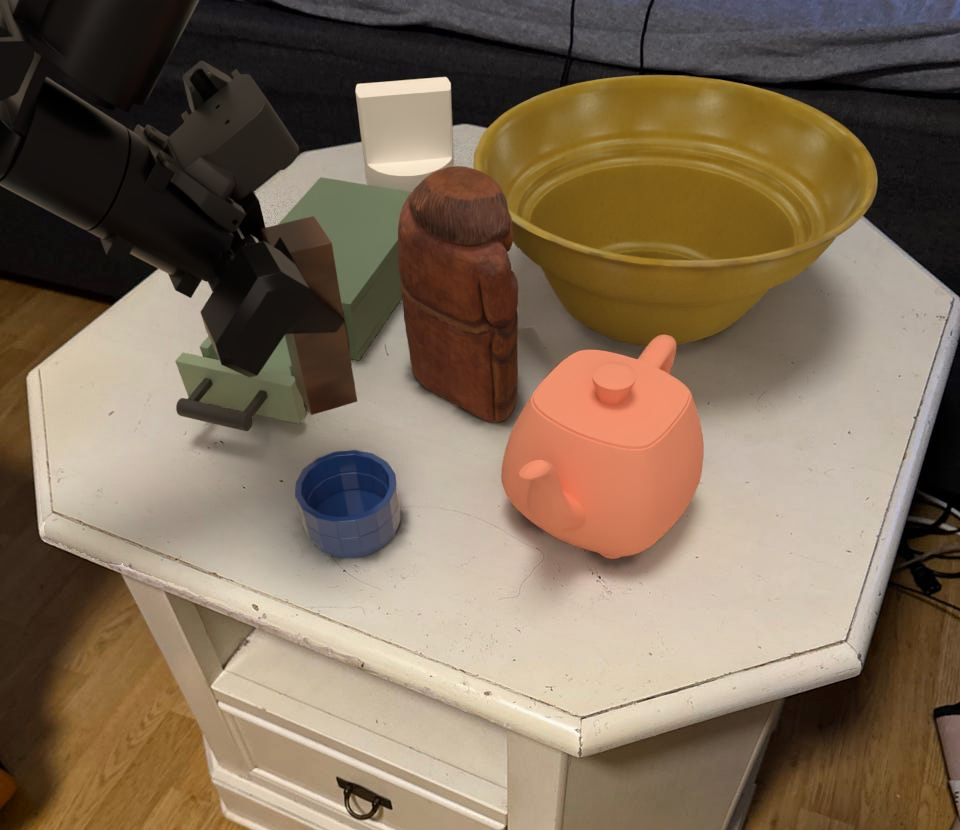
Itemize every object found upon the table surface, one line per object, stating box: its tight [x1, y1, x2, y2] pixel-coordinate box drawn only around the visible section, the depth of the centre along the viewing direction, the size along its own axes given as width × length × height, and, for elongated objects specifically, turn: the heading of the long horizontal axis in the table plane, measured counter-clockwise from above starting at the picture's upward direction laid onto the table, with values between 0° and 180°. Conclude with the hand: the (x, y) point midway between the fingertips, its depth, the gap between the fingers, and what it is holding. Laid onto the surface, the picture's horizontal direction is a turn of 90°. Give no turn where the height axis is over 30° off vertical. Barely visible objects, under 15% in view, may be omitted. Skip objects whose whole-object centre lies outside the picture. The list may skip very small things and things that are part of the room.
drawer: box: [175, 311, 348, 432], centre depth 73 cm, size 22×10×4 cm, turn 161°
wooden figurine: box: [398, 165, 519, 423], centre depth 66 cm, size 12×6×18 cm, turn 49°
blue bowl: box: [294, 449, 402, 559], centre depth 63 cm, size 7×7×4 cm
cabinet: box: [278, 176, 412, 361], centre depth 80 cm, size 19×12×6 cm, turn 161°
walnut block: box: [261, 216, 358, 416], centre depth 58 cm, size 4×4×12 cm
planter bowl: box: [472, 74, 879, 347], centre depth 75 cm, size 32×32×13 cm
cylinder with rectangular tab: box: [355, 76, 455, 192], centre depth 86 cm, size 9×9×12 cm
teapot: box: [501, 335, 705, 560], centre depth 60 cm, size 13×20×12 cm, turn 146°
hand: (330, 310), depth 58 cm, fingers closed on walnut block, 3 cm apart
